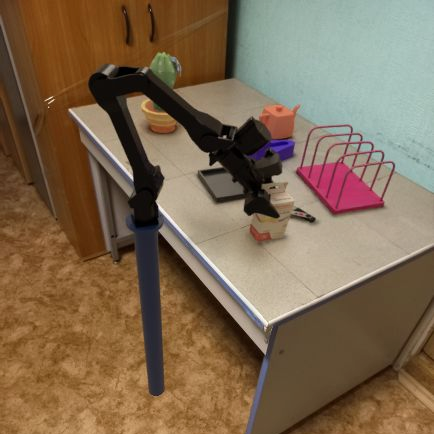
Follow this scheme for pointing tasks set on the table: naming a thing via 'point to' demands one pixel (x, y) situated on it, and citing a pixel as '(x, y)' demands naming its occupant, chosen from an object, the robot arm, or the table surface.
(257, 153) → the bracket
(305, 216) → the usb flash drive
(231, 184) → the baking tray
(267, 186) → the ink cartridge box
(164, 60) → the potted cactus
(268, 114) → the teapot
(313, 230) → the table surface
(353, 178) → the file sorter
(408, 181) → the table surface
